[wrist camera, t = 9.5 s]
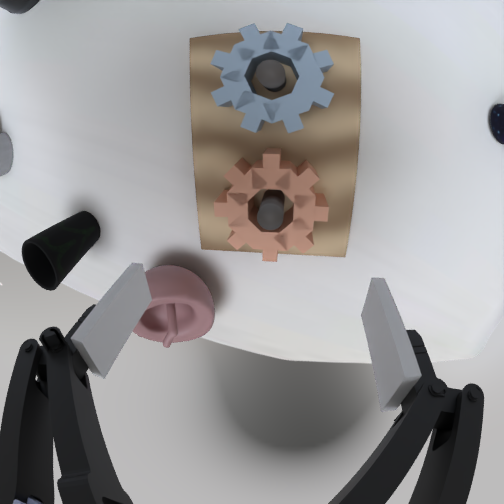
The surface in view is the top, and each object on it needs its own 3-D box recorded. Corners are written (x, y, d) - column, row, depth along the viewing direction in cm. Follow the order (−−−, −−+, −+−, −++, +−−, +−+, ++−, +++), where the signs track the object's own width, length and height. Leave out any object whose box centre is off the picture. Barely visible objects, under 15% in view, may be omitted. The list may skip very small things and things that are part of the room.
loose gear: (222, 147, 28) (211, 154, 24) (326, 150, 26) (332, 157, 22) (226, 239, 33) (218, 258, 29) (318, 244, 32) (322, 264, 28)
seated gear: (205, 59, 23) (190, 51, 19) (302, 22, 20) (304, 7, 16) (246, 146, 27) (238, 152, 23) (344, 112, 24) (354, 112, 20)
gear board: (194, 41, 23) (167, 24, 16) (356, 41, 21) (375, 22, 14) (204, 243, 36) (185, 275, 29) (343, 251, 33) (353, 285, 27)
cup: (109, 218, 36) (57, 259, 25) (102, 256, 39) (58, 300, 29) (73, 197, 35) (20, 230, 24) (69, 235, 38) (23, 272, 28)
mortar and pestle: (197, 325, 43) (176, 380, 34) (137, 284, 41) (102, 332, 31) (239, 283, 38) (221, 344, 28) (169, 232, 36) (127, 280, 26)
